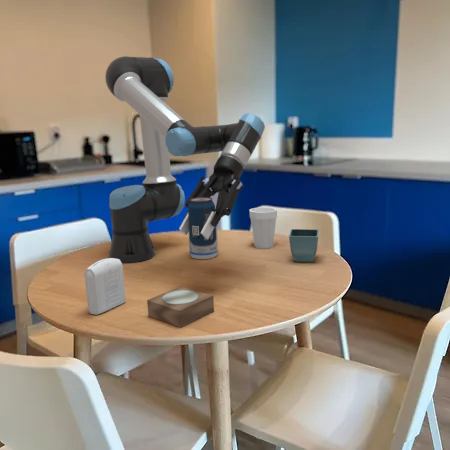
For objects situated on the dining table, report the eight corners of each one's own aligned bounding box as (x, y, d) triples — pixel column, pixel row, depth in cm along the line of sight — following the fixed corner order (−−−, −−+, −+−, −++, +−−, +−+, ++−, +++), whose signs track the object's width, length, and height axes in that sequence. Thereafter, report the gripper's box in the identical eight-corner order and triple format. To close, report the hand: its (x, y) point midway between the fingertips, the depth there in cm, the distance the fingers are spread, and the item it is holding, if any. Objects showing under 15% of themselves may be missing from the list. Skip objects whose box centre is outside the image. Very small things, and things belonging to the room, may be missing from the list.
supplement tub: (191, 252, 165) (188, 210, 162) (218, 251, 165) (216, 209, 162) (188, 260, 156) (186, 216, 152) (218, 259, 156) (216, 215, 152)
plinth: (148, 315, 114) (147, 298, 113) (181, 301, 122) (180, 285, 121) (181, 327, 107) (179, 309, 106) (214, 311, 115) (213, 294, 114)
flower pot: (318, 264, 146) (318, 236, 144) (289, 264, 148) (288, 235, 146) (318, 256, 155) (318, 229, 153) (291, 255, 157) (290, 228, 155)
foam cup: (278, 249, 164) (277, 212, 161) (251, 250, 164) (250, 213, 161) (275, 242, 173) (275, 206, 170) (250, 243, 173) (249, 207, 170)
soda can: (199, 239, 131) (197, 195, 128) (221, 242, 127) (219, 197, 125) (184, 246, 125) (182, 200, 122) (207, 248, 122) (205, 202, 119)
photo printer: (116, 299, 126) (112, 253, 123) (128, 302, 123) (124, 255, 120) (85, 313, 117) (80, 264, 114) (98, 316, 115) (92, 267, 112)
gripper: (267, 173, 127) (230, 247, 119) (211, 170, 140) (174, 236, 132) (254, 155, 122) (215, 231, 114) (197, 153, 135) (158, 221, 126)
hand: (193, 233), depth 123 cm, fingers closed on soda can, 7 cm apart
